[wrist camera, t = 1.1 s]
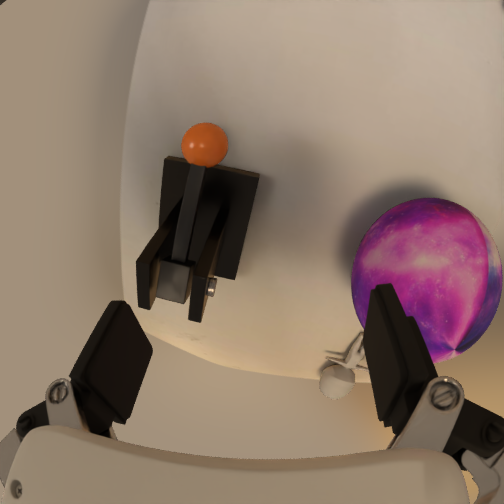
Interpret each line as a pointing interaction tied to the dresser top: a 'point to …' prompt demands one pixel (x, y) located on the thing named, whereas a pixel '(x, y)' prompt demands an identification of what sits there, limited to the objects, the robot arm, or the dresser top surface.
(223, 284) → the dresser top surface
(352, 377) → the figurine
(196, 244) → the switch bracket
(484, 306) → the decorative orb
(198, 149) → the switch lever
